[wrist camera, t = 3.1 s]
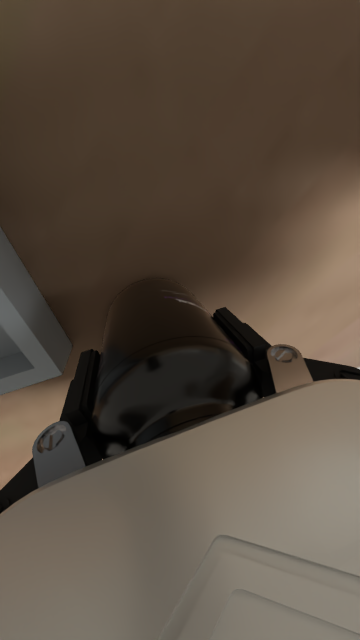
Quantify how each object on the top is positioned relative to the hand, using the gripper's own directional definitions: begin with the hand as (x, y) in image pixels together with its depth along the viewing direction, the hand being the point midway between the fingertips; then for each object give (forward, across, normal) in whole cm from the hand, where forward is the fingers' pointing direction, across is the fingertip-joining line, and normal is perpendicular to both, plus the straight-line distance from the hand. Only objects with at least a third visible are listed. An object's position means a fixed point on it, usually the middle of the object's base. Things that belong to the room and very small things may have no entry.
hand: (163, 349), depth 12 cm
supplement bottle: (+4, 0, 0) cm, 4 cm away
